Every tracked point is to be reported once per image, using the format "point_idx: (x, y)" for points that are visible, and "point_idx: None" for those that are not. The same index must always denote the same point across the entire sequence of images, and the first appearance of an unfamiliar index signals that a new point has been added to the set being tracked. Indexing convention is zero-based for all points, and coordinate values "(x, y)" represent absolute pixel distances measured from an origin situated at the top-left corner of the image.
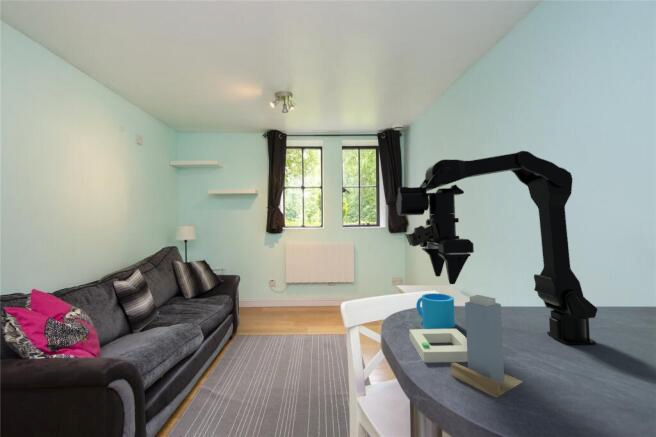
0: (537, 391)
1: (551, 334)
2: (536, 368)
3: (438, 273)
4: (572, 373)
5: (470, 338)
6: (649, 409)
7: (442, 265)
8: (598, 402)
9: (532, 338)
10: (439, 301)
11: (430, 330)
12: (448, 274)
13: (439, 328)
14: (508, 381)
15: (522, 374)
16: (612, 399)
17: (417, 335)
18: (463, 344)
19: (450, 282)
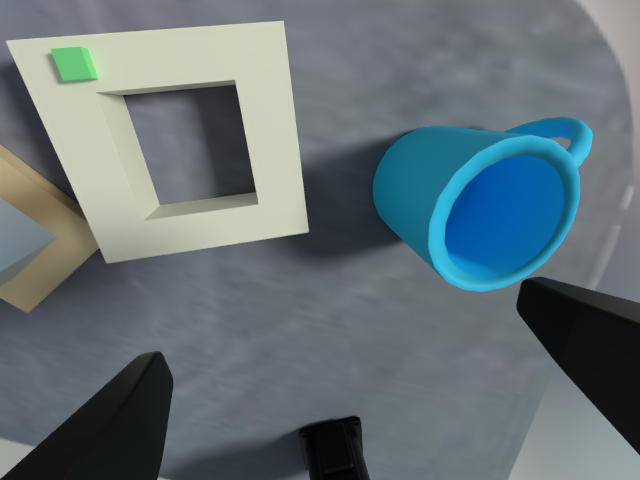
0: (32, 324)
1: (337, 424)
2: None
3: (542, 316)
4: None
5: None
6: None
7: (619, 423)
8: (35, 400)
9: (334, 387)
10: (429, 218)
11: (281, 128)
12: (39, 451)
13: (380, 180)
14: (8, 283)
15: (115, 320)
16: (60, 420)
17: (208, 51)
18: (152, 224)
19: (130, 369)
